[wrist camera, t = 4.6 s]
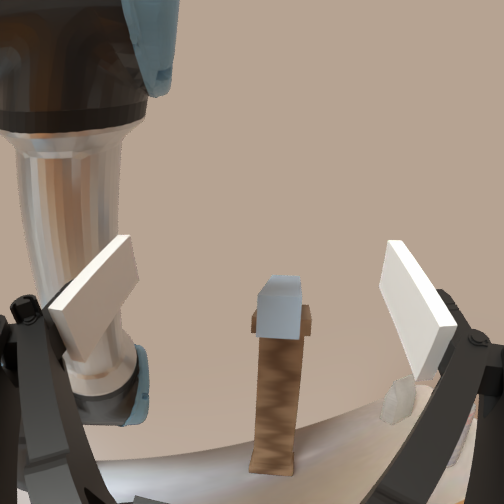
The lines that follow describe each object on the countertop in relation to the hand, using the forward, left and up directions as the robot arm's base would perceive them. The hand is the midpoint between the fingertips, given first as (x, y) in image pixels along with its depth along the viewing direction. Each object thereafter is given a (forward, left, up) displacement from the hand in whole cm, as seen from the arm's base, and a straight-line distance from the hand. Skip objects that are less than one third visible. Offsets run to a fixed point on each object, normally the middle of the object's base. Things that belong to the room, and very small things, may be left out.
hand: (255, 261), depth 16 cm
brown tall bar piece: (+1, +25, -36) cm, 44 cm away
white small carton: (+27, +45, -36) cm, 63 cm away
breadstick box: (+1, +22, -8) cm, 23 cm away
